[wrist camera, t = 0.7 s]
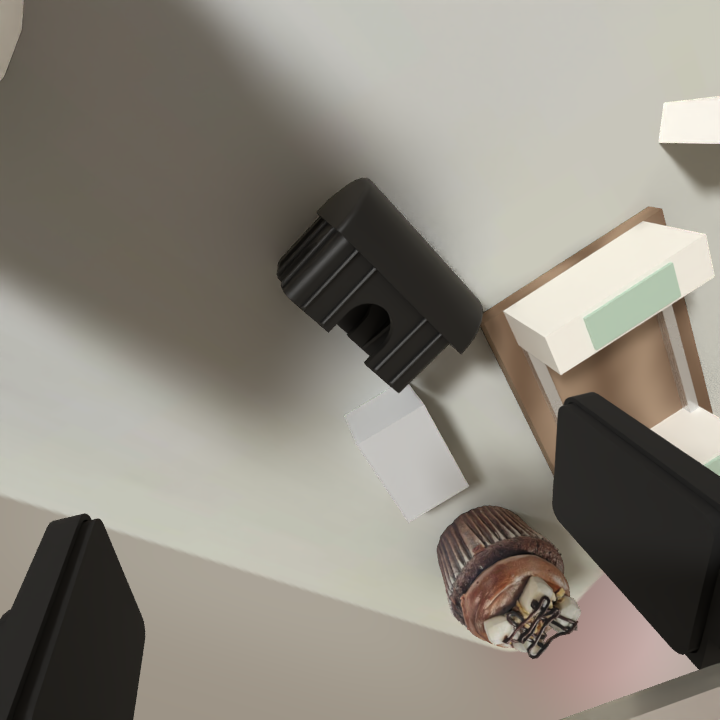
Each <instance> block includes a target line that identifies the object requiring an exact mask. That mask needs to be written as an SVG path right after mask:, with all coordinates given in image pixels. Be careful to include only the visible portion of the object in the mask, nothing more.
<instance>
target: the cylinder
mask: <svg viewBox="0 0 720 720" xmlns="http://www.w3.org/2000/svg"><path fill="white" fill-rule="evenodd" d="M23 6H24V0H0V81H1V80H2V78H3V77H4V75H5V73H6V70H7V67H8V65H9V62H10V60H11V57H12V54H13V52H14V49H15V46H16V44H17V41H18V39H19V36H20V33H21V31H22V20H23Z"/></svg>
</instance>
